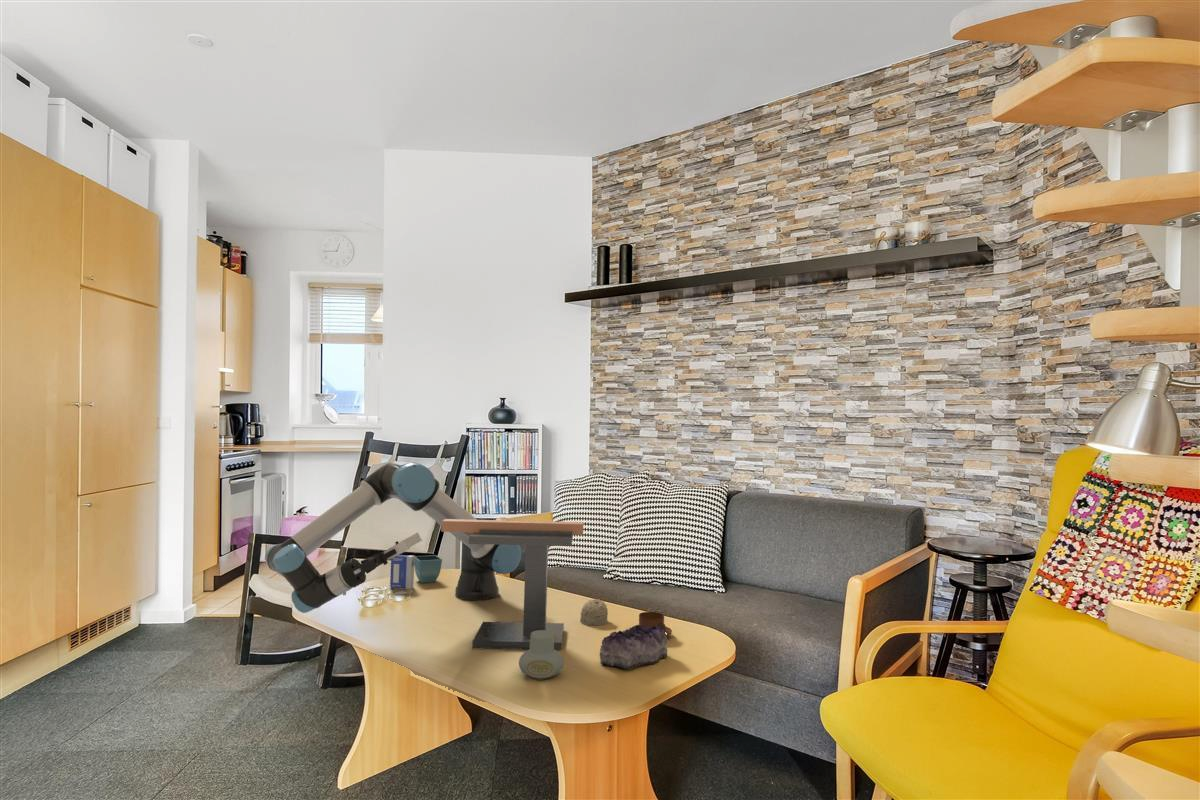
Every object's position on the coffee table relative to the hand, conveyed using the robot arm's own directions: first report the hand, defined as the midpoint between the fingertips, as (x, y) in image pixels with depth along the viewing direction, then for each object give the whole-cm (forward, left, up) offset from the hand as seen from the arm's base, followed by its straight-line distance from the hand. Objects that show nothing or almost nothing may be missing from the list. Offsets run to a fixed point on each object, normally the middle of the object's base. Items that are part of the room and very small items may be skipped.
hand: (413, 540), depth 193 cm
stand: (-18, +25, -27) cm, 41 cm away
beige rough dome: (-45, +32, -27) cm, 62 cm away
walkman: (-36, -47, -27) cm, 65 cm away
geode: (-23, +60, -27) cm, 70 cm away
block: (-16, +23, +3) cm, 28 cm away
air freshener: (0, +47, -27) cm, 55 cm away
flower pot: (-49, -48, -27) cm, 74 cm away
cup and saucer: (-44, +53, -27) cm, 74 cm away
